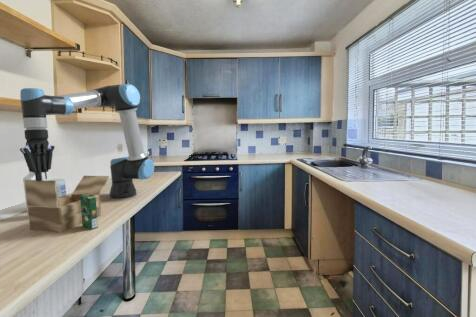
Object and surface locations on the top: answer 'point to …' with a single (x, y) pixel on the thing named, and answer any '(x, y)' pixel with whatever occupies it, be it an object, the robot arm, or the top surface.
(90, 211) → the coffee box
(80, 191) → the flap
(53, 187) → the flap
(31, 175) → the milk
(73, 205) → the carton
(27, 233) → the top surface
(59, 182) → the supplement tub
